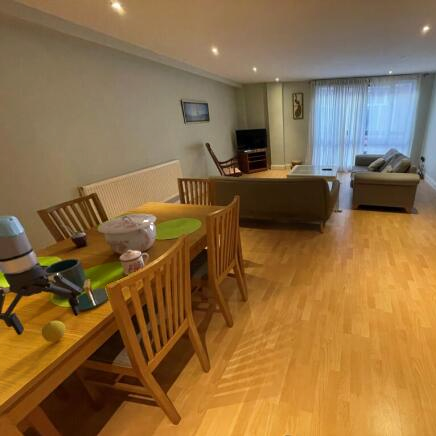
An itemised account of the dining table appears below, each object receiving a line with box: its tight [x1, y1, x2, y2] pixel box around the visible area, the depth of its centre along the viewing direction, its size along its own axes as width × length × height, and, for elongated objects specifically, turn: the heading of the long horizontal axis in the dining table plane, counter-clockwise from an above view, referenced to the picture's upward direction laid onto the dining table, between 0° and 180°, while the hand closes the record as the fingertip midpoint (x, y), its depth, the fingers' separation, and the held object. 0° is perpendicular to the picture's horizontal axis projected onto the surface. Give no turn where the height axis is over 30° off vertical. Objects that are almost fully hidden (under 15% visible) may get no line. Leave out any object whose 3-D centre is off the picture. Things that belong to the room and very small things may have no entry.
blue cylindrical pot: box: [43, 258, 88, 300], centre depth 103 cm, size 12×12×13 cm
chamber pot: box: [97, 213, 157, 255], centre depth 135 cm, size 28×28×21 cm
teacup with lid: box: [119, 250, 150, 276], centre depth 117 cm, size 12×9×12 cm
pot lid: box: [77, 278, 109, 311], centre depth 97 cm, size 13×13×8 cm
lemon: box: [41, 320, 67, 343], centre depth 80 cm, size 6×6×8 cm
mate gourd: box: [60, 224, 88, 249], centre depth 140 cm, size 8×8×15 cm
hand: (50, 322), depth 78 cm, fingers open, 13 cm apart
